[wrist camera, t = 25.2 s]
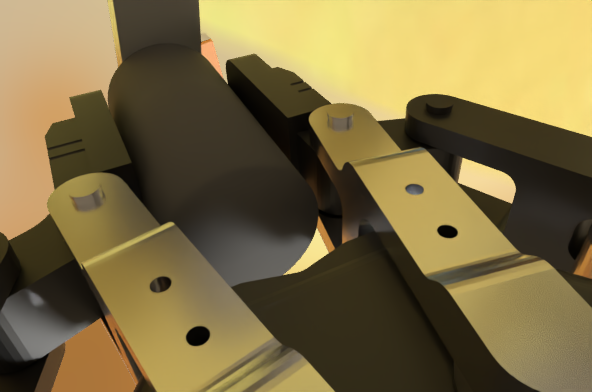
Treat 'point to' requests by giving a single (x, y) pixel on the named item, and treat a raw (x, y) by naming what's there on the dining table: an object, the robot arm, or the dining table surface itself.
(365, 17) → the dining table surface
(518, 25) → the dining table surface
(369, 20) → the dining table surface
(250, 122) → the crank lever
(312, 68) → the dining table surface
